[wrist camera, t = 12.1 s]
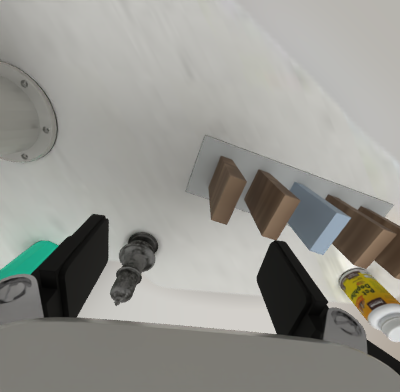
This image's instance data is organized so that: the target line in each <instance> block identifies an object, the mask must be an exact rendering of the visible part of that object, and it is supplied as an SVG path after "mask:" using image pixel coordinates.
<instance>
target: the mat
mask: <svg viewBox="0 0 400 392" xmlns="http://www.w3.org/2000/svg"><path fill="white" fill-rule="evenodd" d="M221 156H224V157H226V158H229V159H232V160H233V161H234V163H235V164H236V166H237V167H238V169H239V170H240V172H241V173H242V175H243V176H244V178H245V179H246V181H247V183H246V185H245V187H244V189H243V192H242V194H241V196H240V198H239V200H238V202H237V204H236V206H235V208H236V209H239V210H242V211H245V212H248V213H250V211H249V209H248V207H247V205H246V203H245V201H244V198H245V196H246V194H247V192H248V190H249V188H250V186H251V184H252V182H253V179H254V177H255V175H256V173H257V171H258V169H260V170H262V171H265V172H268V173H270V174H271V175H272V176H273V177H274V178H276V179H277V180H278V181H279V182H280V183H281V184H282V185H284V186H285V187H286V188H287V189H288V190H289V191H290V189H291V187H292V186H293V184H294V182H296V183H299V184H302V185H304V186H306V187H308V188H309V189H310V190H312V191H313V192H315V193H316V194H318V195H319V196H321V197H322V198H323V199H325V198H326V197H327V195H328V194H329V195H331V196H334V197H337V198H339V199H341V200H342V201H344V202H346V203H347V204H349V205H350V206H352V207H354V208H355V209H357V210H358V209H359V207H360V206H362V207H365V208H367V209H370V210H372V211H374V212H375V213H377V214H379V215H381V216H382V217H385V216H386V215H387V213H388V212H389V211H390V210H391V208H392V207H393V206H394V205H393V204H390V203H387V202H385V201H382V200H379V199H377V198H374V197H371V196H368V195H366V194H363V193H360V192H358V191H355V190H352V189H350V188H347V187H344V186H342V185H339V184H336V183H334V182H331V181H328V180H325V179H323V178H320V177H317V176H315V175H312V174H309V173H307V172H304V171H301V170H299V169H296V168H293V167H290V166H288V165H285V164H282V163H280V162H277V161H274V160H272V159H269V158H266V157H264V156H261V155H258V154H255V153H253V152H250V151H247V150H245V149H242V148H239V147H237V146H234V145H231V144H229V143H226V142H223V141H220V140H218V139H215V138H212V137H210V136H207V135H205V137H204V140H203V143H202V146H201V148H200V151H199V154H198V157H197V160H196V163H195V166H194V169H193V171H192V174H191V177H190V180H189V183H188V186H187V189H186V192H188V193H191V194H194V195H197V196H200V197H203V198H206V199H209V189H208V187H209V184H210V182H211V179H212V177H213V174H214V172H215V169H216V167H217V164H218V162H219V159H220V157H221ZM286 225H288V226H290V225H289V224H288V223H287V224H286Z"/></svg>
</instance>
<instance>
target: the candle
mask: <svg viewBox="0 0 400 392" xmlns="http://www.w3.org/2000/svg"><path fill="white" fill-rule="evenodd" d="M57 247H58V245H56V244H54V243H52V242H50V241H39V242H37V243H35V244H33V245H32V246H31V247H30V248H28V249H27V250H26V251H24V252H23V253H22V254H20V255H19V256H18V257H17V258H15V259H14V260H13V261H11V262H10V263H9V264H8V265H6V266H5V267H4V268H2V269H1V270H0V280H1V279H4V278H6V277H9V276H12V275H17V274H29V275H30V274H31V273H32V272H33V271H34V270H35V269H36V268H37V267H38V266H39V265H40V264H41V263H42V262H43V261H44V260H45V259H46V258H47V257H48V256H49V255H50V254H51V253H52V252H53V251H54V250H55V249H56V248H57Z"/></svg>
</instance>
